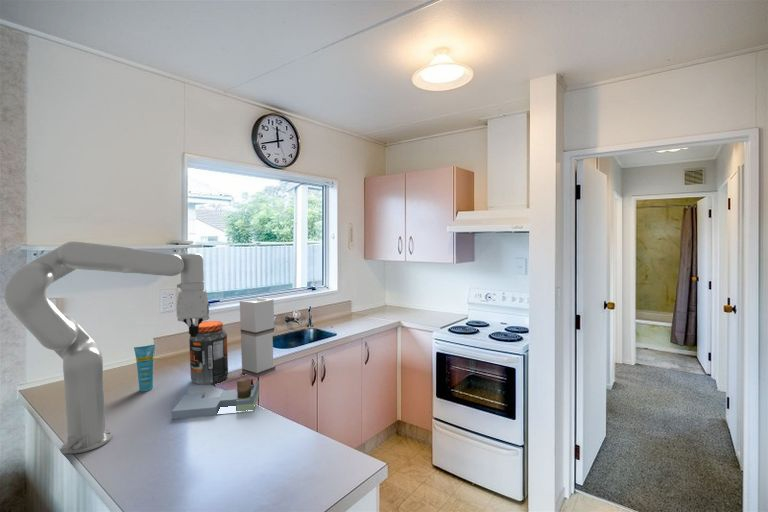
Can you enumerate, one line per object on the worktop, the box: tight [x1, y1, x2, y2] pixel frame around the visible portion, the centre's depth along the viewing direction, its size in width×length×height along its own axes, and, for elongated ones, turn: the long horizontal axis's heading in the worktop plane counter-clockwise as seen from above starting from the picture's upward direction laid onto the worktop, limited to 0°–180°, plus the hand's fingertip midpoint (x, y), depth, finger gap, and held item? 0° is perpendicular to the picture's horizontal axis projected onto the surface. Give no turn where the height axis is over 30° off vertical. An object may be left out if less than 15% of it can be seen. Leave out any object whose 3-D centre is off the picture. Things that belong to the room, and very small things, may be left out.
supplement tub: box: [188, 320, 229, 385], centre depth 173 cm, size 16×16×26 cm
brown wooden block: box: [236, 378, 252, 399], centre depth 148 cm, size 5×5×6 cm
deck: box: [171, 380, 260, 420], centre depth 145 cm, size 15×28×6 cm, turn 101°
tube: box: [133, 344, 155, 392], centre depth 162 cm, size 7×5×19 cm, turn 123°
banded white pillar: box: [239, 297, 276, 378], centre depth 182 cm, size 11×11×35 cm
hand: (194, 336), depth 140 cm, fingers closed
